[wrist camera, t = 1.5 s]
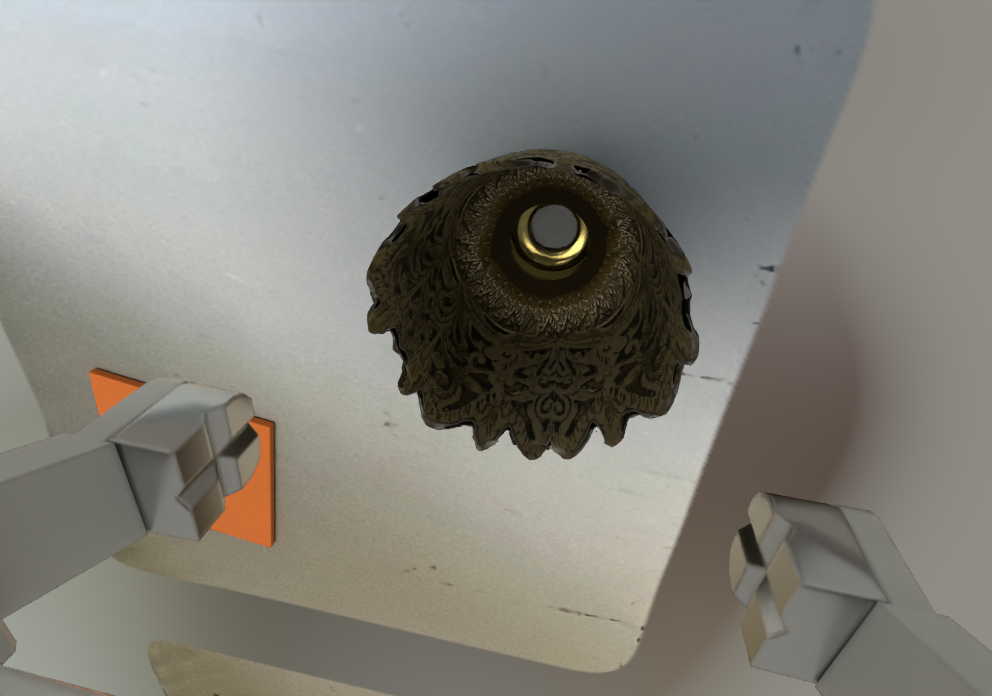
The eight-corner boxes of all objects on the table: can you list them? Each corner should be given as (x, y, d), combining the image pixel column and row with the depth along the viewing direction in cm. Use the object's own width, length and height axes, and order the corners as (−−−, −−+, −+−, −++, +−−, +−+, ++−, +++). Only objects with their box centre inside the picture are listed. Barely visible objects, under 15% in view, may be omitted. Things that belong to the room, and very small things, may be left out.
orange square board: (95, 367, 26) (88, 372, 26) (274, 422, 26) (269, 427, 25) (124, 495, 31) (119, 500, 31) (274, 542, 31) (271, 548, 30)
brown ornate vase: (425, 140, 18) (312, 204, 11) (651, 83, 16) (684, 118, 9) (481, 333, 21) (421, 472, 14) (672, 306, 19) (709, 454, 12)
